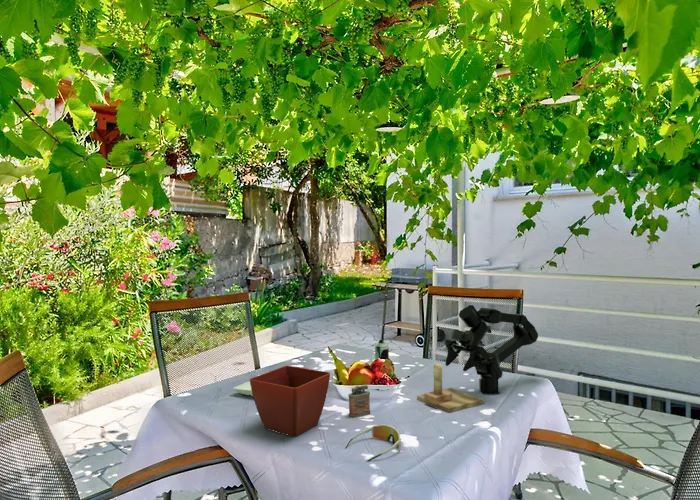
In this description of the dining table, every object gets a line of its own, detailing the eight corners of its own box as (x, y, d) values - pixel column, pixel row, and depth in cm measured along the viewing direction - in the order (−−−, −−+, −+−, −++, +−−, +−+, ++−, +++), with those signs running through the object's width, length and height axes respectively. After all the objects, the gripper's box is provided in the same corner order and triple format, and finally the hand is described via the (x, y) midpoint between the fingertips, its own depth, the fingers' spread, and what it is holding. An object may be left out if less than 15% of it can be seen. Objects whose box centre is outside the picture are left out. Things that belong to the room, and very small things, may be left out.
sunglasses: (411, 449, 138) (409, 433, 138) (370, 472, 130) (368, 455, 129) (379, 434, 150) (377, 419, 149) (340, 454, 141) (338, 438, 140)
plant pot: (296, 444, 143) (295, 387, 143) (248, 431, 153) (247, 378, 153) (332, 423, 160) (331, 372, 159) (287, 412, 170) (286, 365, 169)
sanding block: (440, 396, 180) (440, 361, 180) (452, 400, 175) (451, 364, 175) (424, 400, 176) (423, 364, 176) (435, 404, 171) (434, 368, 171)
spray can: (388, 390, 193) (387, 340, 193) (374, 390, 194) (373, 340, 194) (389, 386, 198) (389, 338, 198) (376, 386, 199) (375, 337, 199)
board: (450, 391, 190) (450, 387, 190) (483, 403, 176) (483, 399, 176) (417, 399, 181) (417, 395, 181) (448, 413, 167) (448, 408, 167)
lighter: (351, 418, 163) (351, 389, 163) (347, 415, 166) (346, 386, 166) (372, 414, 167) (371, 385, 167) (367, 411, 170) (366, 383, 170)
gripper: (447, 318, 190) (426, 350, 185) (483, 325, 174) (461, 360, 169) (462, 336, 195) (442, 367, 189) (498, 344, 179) (477, 378, 173)
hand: (454, 367), depth 180 cm, fingers open, 9 cm apart
